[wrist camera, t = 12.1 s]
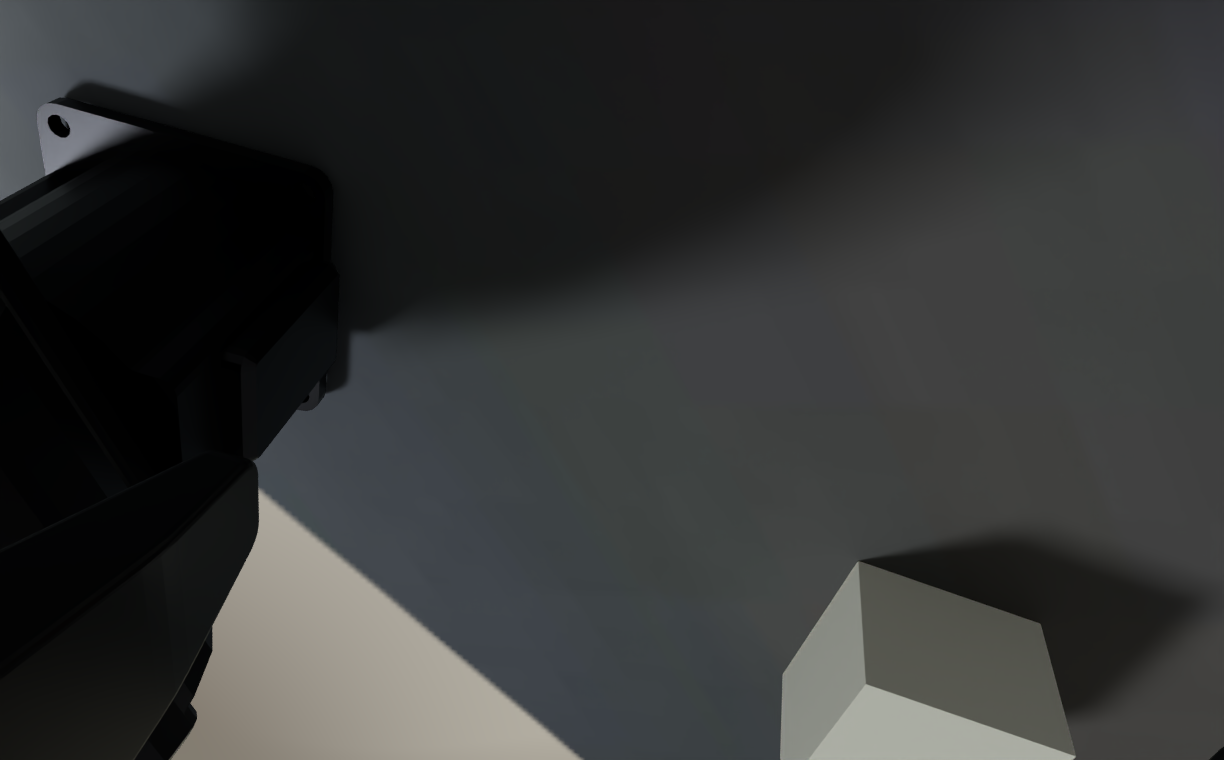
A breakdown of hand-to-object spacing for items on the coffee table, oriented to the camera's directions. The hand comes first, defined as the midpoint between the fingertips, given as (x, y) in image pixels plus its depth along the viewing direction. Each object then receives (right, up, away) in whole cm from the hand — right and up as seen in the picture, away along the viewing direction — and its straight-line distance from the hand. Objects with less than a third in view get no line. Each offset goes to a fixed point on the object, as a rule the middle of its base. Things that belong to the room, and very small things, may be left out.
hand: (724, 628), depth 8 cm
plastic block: (+7, -5, +17) cm, 19 cm away
